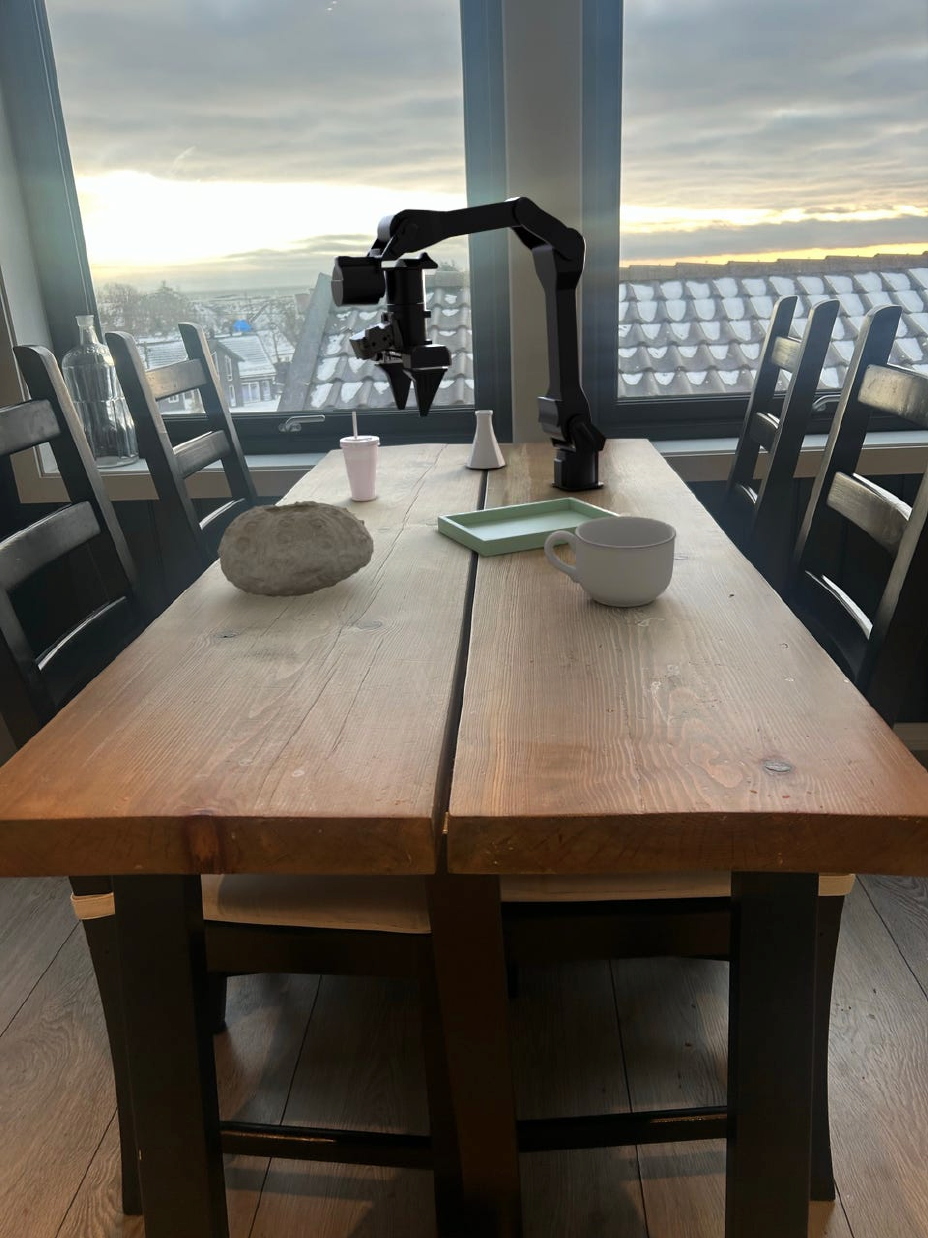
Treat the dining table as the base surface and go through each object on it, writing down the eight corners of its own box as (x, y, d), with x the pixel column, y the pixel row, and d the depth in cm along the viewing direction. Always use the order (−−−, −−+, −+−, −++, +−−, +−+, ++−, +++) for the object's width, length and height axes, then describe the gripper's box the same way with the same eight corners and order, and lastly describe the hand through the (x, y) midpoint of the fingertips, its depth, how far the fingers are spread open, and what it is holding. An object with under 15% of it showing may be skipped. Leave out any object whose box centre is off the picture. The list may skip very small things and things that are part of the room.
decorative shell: (259, 564, 128) (251, 487, 125) (393, 567, 125) (388, 488, 121) (197, 609, 112) (185, 522, 109) (348, 614, 108) (341, 524, 105)
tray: (571, 510, 149) (571, 496, 148) (629, 533, 135) (629, 518, 135) (438, 530, 141) (437, 516, 140) (484, 556, 127) (484, 540, 127)
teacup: (680, 587, 113) (682, 517, 110) (666, 618, 103) (668, 543, 100) (560, 579, 117) (559, 512, 114) (535, 609, 107) (534, 537, 105)
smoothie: (344, 495, 166) (337, 409, 161) (383, 493, 166) (377, 407, 161) (343, 503, 160) (336, 415, 155) (383, 501, 160) (377, 413, 155)
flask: (506, 461, 187) (505, 407, 184) (504, 469, 181) (502, 413, 177) (468, 462, 188) (466, 409, 185) (464, 470, 182) (462, 414, 178)
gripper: (333, 305, 149) (341, 411, 154) (374, 307, 133) (381, 425, 138) (403, 301, 153) (409, 404, 159) (451, 303, 137) (455, 418, 142)
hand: (411, 413), depth 149 cm, fingers open, 9 cm apart
